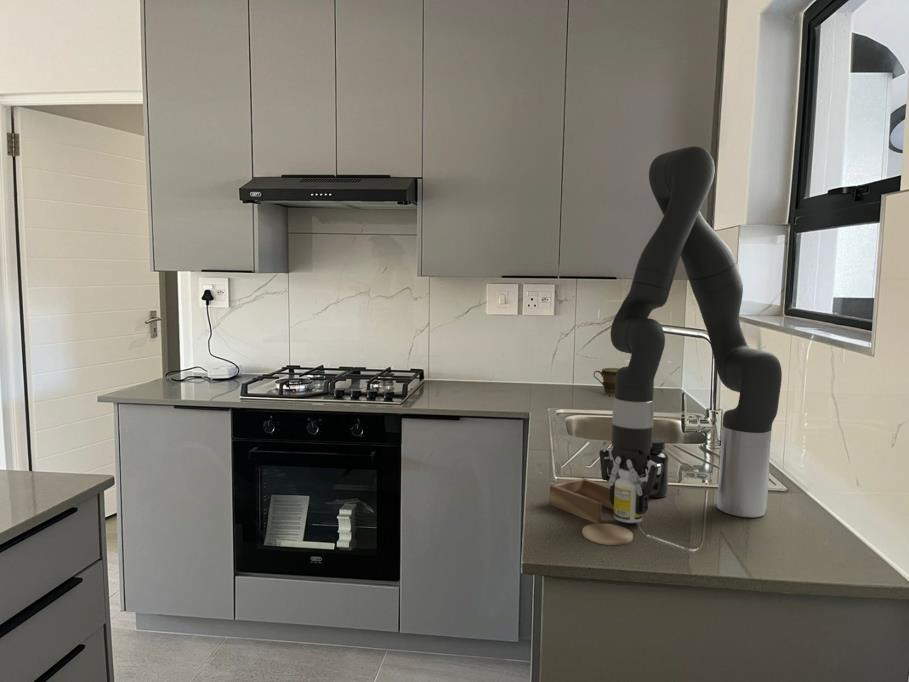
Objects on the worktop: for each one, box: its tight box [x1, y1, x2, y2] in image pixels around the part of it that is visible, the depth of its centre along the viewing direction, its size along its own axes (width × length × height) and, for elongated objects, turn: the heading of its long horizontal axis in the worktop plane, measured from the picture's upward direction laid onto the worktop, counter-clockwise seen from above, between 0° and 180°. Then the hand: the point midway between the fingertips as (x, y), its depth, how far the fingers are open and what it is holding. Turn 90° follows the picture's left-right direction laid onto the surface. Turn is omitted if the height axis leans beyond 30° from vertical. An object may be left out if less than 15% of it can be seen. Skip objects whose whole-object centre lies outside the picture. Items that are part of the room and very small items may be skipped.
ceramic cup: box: [593, 367, 620, 397], centre depth 273 cm, size 13×10×10 cm
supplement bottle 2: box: [640, 437, 670, 499], centre depth 154 cm, size 7×7×12 cm
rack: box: [548, 477, 614, 524], centre depth 143 cm, size 10×13×4 cm
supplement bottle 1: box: [613, 468, 644, 524], centre depth 135 cm, size 5×5×10 cm
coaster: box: [582, 523, 634, 546], centre depth 129 cm, size 9×9×1 cm
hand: (628, 508), depth 136 cm, fingers closed on supplement bottle 1, 5 cm apart
